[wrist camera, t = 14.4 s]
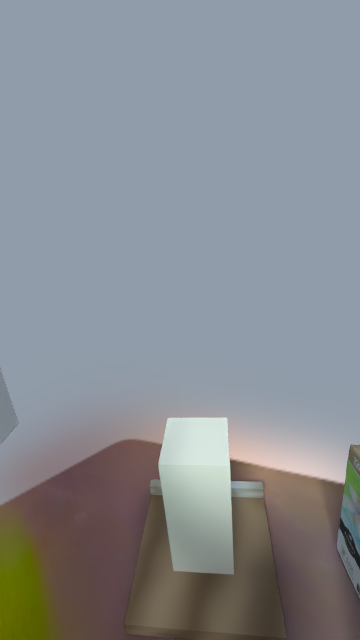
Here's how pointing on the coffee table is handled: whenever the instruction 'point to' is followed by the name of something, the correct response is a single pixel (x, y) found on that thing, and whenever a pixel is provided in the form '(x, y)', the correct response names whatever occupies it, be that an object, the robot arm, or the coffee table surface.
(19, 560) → the coffee table surface
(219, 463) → the carton
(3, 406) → the robot arm
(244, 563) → the brown slab
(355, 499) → the tea box
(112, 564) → the coffee table surface
